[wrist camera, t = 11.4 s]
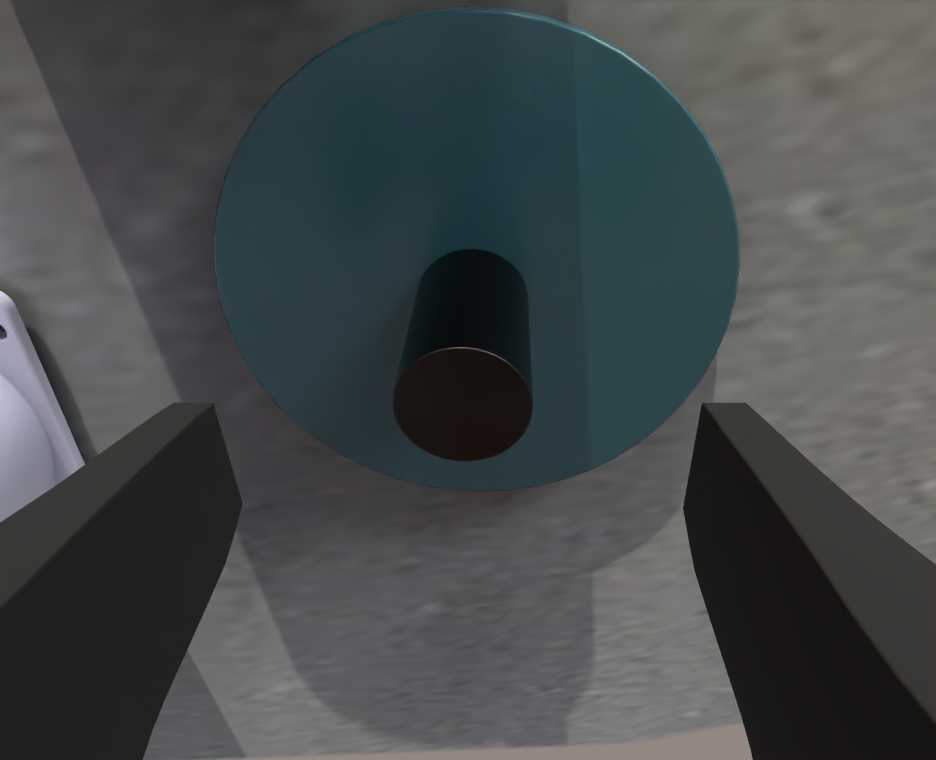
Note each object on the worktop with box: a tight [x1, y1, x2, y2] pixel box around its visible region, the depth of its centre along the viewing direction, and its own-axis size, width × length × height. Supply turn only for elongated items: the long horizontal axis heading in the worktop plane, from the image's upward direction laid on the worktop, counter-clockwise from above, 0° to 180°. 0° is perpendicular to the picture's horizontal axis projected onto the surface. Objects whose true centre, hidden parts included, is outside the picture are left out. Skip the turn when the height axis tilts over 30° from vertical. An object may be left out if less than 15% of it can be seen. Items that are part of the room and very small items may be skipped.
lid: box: [214, 7, 740, 492], centre depth 14 cm, size 11×11×5 cm
